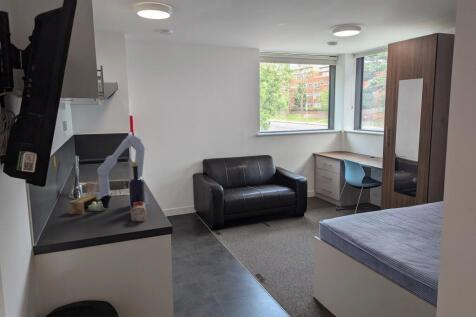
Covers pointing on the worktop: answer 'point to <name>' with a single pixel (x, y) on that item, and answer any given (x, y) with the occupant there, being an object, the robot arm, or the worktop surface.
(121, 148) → the robot arm
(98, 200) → the wooden arch bridge
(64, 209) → the worktop surface
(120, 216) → the worktop surface
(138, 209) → the food item
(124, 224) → the worktop surface
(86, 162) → the worktop surface
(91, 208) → the tray
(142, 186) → the bottle
